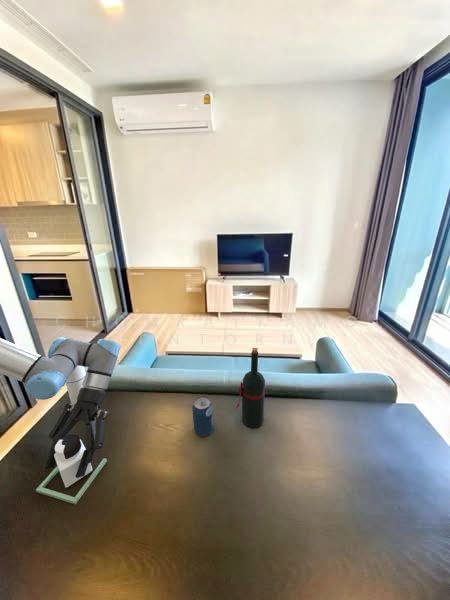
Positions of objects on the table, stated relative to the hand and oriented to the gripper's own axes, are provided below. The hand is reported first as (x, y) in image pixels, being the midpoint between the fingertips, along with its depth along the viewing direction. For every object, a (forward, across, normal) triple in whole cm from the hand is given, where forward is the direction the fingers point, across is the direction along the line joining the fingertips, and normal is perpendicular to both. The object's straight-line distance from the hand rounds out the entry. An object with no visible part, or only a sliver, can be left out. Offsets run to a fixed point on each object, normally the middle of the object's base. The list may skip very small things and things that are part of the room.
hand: (64, 472), depth 70 cm
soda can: (-15, -32, -22) cm, 42 cm away
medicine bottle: (+1, 0, -5) cm, 5 cm away
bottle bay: (+1, 0, -5) cm, 5 cm away
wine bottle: (-21, -47, -27) cm, 58 cm away
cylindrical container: (-16, +20, -23) cm, 34 cm away
